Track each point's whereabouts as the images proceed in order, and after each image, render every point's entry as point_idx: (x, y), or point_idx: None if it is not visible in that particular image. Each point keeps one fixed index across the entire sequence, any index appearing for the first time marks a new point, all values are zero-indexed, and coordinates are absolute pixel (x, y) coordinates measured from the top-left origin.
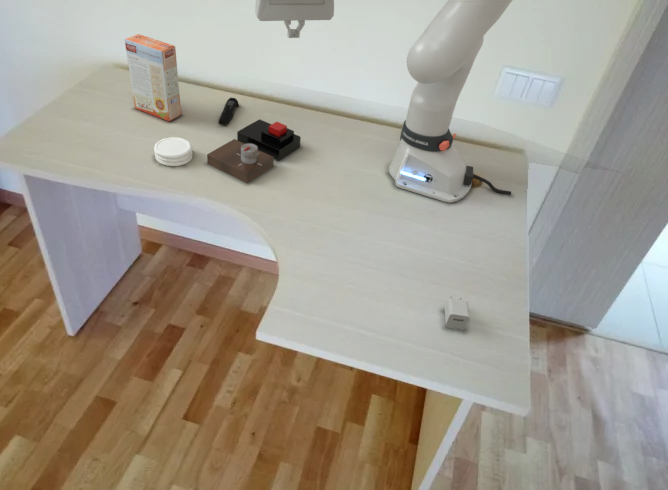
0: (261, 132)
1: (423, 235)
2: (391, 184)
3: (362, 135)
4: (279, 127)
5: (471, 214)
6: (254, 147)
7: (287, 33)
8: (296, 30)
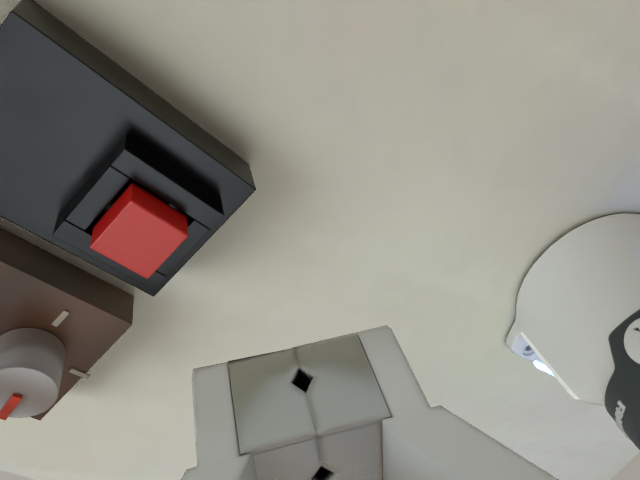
0: (53, 234)
1: None
2: (497, 333)
3: (549, 46)
4: (148, 256)
5: None
6: (42, 388)
7: (193, 395)
8: (372, 477)
